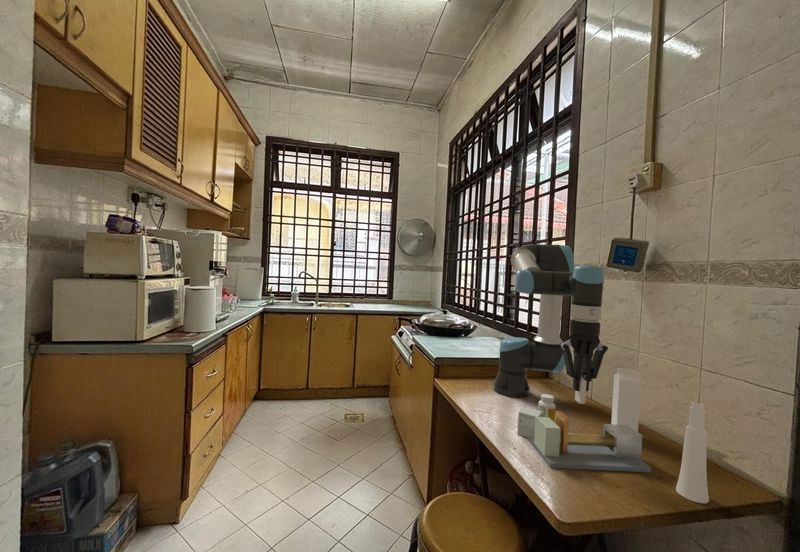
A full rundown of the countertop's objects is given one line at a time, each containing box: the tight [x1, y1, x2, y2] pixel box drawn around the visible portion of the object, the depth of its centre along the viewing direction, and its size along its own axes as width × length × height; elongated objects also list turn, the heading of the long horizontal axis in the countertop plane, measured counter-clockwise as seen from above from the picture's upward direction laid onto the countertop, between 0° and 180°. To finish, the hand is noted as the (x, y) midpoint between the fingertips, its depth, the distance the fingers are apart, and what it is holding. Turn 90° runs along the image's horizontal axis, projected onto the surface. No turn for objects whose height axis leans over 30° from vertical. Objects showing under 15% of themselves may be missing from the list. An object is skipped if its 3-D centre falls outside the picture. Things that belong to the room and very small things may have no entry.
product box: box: [516, 406, 542, 439], centre depth 108 cm, size 6×6×7 cm
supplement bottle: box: [537, 393, 557, 423], centre depth 116 cm, size 5×5×10 cm
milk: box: [610, 367, 642, 433], centre depth 111 cm, size 6×6×22 cm
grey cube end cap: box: [602, 423, 643, 460], centre depth 96 cm, size 6×7×7 cm
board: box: [528, 437, 652, 473], centre depth 96 cm, size 14×27×1 cm, turn 91°
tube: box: [555, 410, 614, 454], centre depth 96 cm, size 5×20×10 cm, turn 91°
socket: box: [534, 417, 561, 457], centre depth 96 cm, size 7×4×8 cm, turn 1°
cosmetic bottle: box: [675, 401, 710, 504], centre depth 80 cm, size 6×6×22 cm
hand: (579, 401), depth 97 cm, fingers closed
